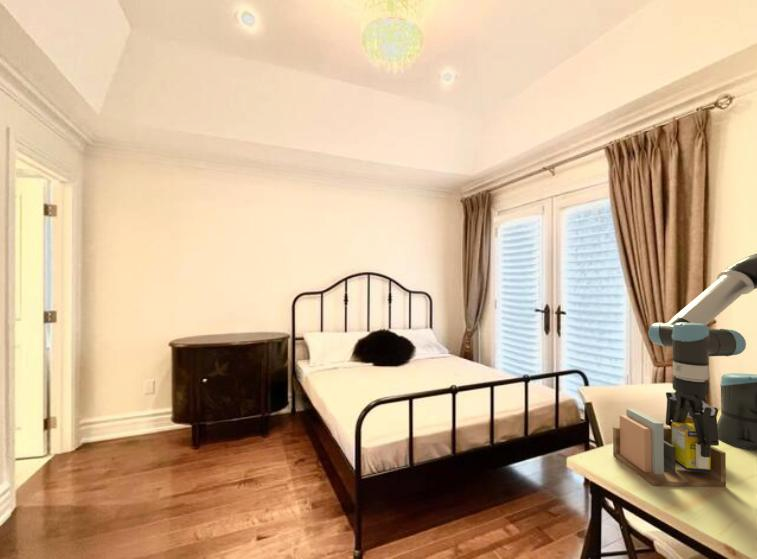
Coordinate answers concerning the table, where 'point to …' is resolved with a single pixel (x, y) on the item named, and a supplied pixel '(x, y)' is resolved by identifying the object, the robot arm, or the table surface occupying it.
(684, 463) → the supplement box
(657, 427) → the shelved books
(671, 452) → the book rack
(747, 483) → the table surface
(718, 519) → the table surface
